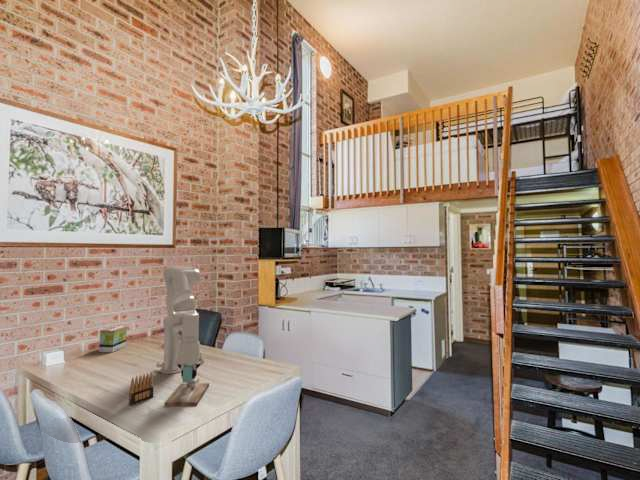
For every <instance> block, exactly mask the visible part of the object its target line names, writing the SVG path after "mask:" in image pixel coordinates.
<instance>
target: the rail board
mask: <svg viewBox="0 0 640 480" xmlns="http://www.w3.org/2000/svg"><path fill="white" fill-rule="evenodd" d="M209 386H210V383H208V382H204V383H203V382H200V376H195V379H194V380H193V381H192V382H185V383H183V382H182V383H180V384H179V385H178V386H177V387H176V389H175V390H174V391H173V392H172V394H171V395H170V396H169V397H168V398H167V399H166V401H164V404H163V405H164V406H163V407H186V406H187V407H190V406H191V407H193V406H194V407H195V406H198V404H199V403H200V401H201V400H202V399H203V398H202V397H204V395H205V393H206V391H207V390H208V389H209Z"/></svg>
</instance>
